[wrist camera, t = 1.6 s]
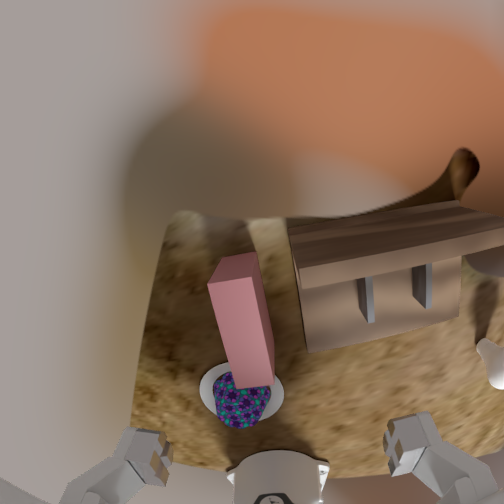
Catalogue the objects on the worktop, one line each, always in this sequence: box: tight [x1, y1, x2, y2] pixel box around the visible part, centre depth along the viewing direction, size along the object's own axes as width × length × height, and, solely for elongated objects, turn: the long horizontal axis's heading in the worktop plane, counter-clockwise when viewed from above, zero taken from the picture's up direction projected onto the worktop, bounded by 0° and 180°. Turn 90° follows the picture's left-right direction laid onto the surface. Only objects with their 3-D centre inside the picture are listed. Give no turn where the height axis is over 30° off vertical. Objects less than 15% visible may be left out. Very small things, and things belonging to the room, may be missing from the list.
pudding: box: [200, 362, 284, 429], centre depth 38 cm, size 12×12×5 cm
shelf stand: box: [288, 200, 504, 353], centre depth 29 cm, size 16×22×13 cm
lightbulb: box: [476, 338, 504, 389], centre depth 32 cm, size 6×6×11 cm
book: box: [207, 251, 275, 389], centre depth 33 cm, size 12×4×9 cm, turn 11°
